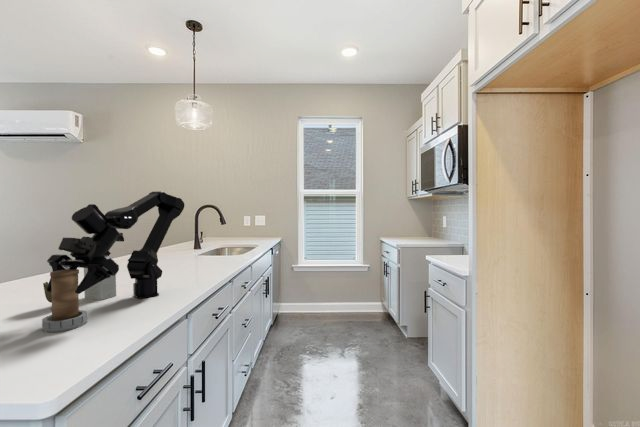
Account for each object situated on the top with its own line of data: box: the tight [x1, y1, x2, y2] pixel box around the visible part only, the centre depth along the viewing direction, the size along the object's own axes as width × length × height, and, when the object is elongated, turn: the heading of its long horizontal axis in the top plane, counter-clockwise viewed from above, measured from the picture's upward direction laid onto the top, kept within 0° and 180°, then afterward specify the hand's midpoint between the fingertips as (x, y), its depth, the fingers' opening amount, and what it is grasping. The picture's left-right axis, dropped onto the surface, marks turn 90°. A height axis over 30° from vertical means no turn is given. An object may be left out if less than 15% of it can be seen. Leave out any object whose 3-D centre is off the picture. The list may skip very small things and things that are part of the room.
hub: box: [41, 309, 88, 333], centre depth 81 cm, size 9×9×2 cm
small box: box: [83, 268, 117, 301], centre depth 107 cm, size 8×6×10 cm
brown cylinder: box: [49, 268, 80, 321], centre depth 81 cm, size 6×6×13 cm
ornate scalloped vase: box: [42, 281, 52, 304], centre depth 96 cm, size 8×7×8 cm
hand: (62, 292), depth 80 cm, fingers open, 9 cm apart
